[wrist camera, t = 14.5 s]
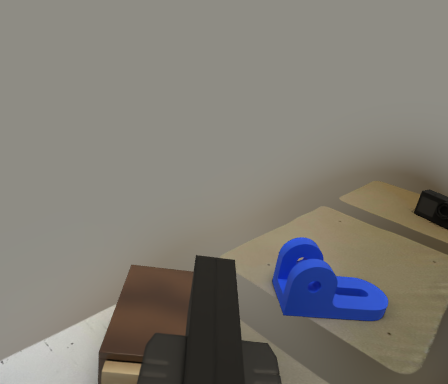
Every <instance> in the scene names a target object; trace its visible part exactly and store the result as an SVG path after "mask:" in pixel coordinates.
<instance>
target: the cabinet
mask: <svg viewBox="0 0 448 384" xmlns="http://www.w3.org/2000/svg"><path fill="white" fill-rule="evenodd" d="M193 273H194V272H191V271H182V270H174V269H164V268H155V267H147V266H138V265H131V267H130V270H129V273H128V275H127V278H126V281H125V283H124V286H123V289H122V292H121V294H120V297H119V300H118V302H117V305H116V308H115V310H114V313H113V316H112V318H111V321H110V324H109V326H108V329H107V332H106V334H105V337H104V340H103V342H102V345H101V348H100V350H99V367H98V384H101V376H102V369H103V366H104V363H105V361H116V360H123V361H134V362H142V359H143V355H144V350H145V346H146V344H147V343H148V341H149V340H150V339H151V338H152V336H153V335H154V334H155V333H164V334H174V335H183V336H185V334H186V324H187V314H188V307H189V300H190V293H191V287H192V280H193Z"/></svg>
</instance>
